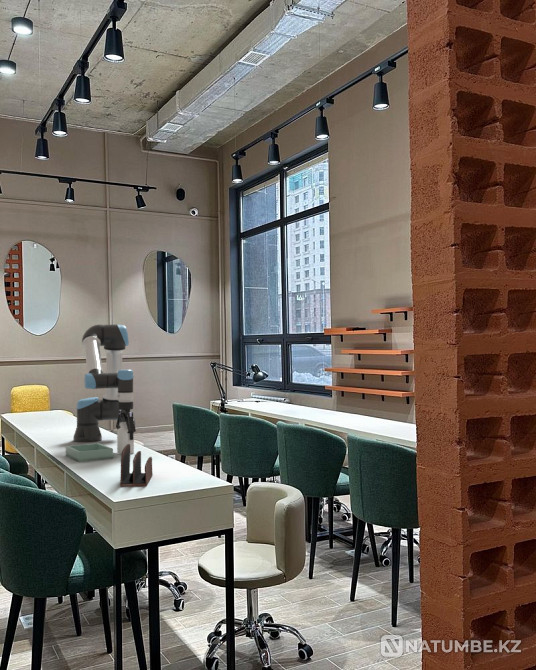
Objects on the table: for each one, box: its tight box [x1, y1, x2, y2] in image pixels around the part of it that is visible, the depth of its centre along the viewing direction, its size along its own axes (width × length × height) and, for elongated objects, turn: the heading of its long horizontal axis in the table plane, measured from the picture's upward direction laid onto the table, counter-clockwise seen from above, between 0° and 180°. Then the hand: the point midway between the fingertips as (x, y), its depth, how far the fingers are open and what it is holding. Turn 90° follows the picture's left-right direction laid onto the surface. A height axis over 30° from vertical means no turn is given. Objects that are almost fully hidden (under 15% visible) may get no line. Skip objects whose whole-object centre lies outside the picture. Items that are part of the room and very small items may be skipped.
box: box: [65, 442, 114, 463], centre depth 307 cm, size 20×16×4 cm
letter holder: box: [119, 444, 154, 488], centre depth 254 cm, size 10×20×14 cm, turn 4°
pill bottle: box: [116, 422, 135, 455], centre depth 317 cm, size 8×8×15 cm
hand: (125, 444), depth 317 cm, fingers open, 13 cm apart
